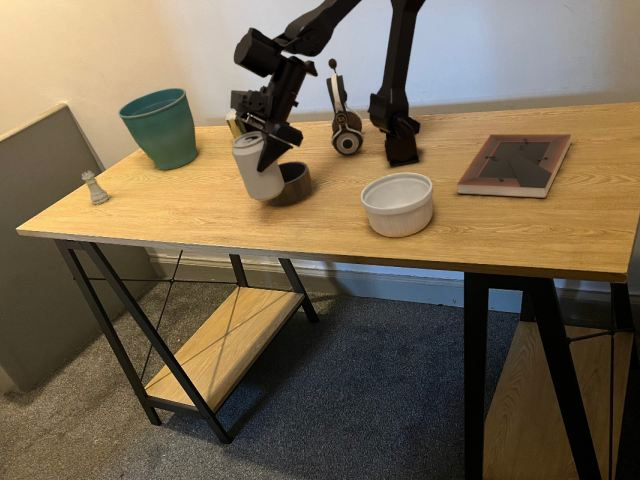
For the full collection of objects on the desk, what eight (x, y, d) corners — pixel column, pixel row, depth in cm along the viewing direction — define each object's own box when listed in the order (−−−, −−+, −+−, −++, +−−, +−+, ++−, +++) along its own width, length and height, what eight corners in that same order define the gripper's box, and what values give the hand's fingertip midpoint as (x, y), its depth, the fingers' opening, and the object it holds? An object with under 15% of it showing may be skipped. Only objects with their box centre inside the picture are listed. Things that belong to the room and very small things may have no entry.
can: (291, 182, 116) (273, 127, 109) (276, 202, 111) (256, 145, 104) (260, 184, 119) (240, 130, 112) (243, 203, 114) (221, 148, 107)
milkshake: (250, 146, 156) (238, 110, 151) (232, 148, 158) (219, 113, 152) (255, 138, 160) (243, 104, 154) (238, 141, 161) (225, 106, 156)
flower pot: (187, 175, 150) (160, 112, 140) (133, 178, 157) (103, 118, 147) (220, 144, 163) (197, 84, 153) (168, 148, 170) (144, 91, 160)
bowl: (316, 177, 132) (310, 157, 129) (310, 201, 123) (304, 180, 120) (269, 186, 134) (262, 166, 131) (261, 210, 125) (253, 190, 122)
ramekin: (452, 218, 105) (447, 184, 101) (394, 250, 101) (387, 217, 97) (409, 196, 115) (403, 165, 111) (354, 225, 111) (346, 194, 107)
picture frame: (545, 199, 103) (570, 144, 117) (545, 187, 102) (571, 133, 116) (457, 194, 111) (491, 144, 125) (456, 183, 110) (490, 133, 124)
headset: (335, 136, 149) (315, 57, 137) (364, 129, 148) (347, 49, 136) (335, 164, 135) (313, 79, 123) (367, 157, 134) (348, 71, 122)
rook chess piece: (94, 207, 147) (78, 179, 142) (92, 201, 150) (76, 173, 146) (111, 200, 148) (96, 172, 143) (108, 194, 151) (94, 166, 147)
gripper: (227, 62, 110) (197, 139, 113) (267, 77, 96) (231, 164, 99) (276, 88, 117) (246, 159, 120) (319, 104, 103) (284, 185, 106)
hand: (250, 166), depth 111 cm, fingers closed on can, 7 cm apart
